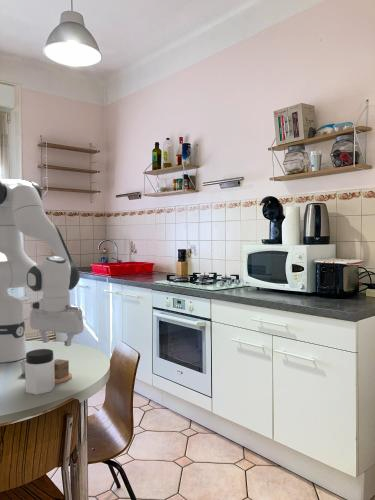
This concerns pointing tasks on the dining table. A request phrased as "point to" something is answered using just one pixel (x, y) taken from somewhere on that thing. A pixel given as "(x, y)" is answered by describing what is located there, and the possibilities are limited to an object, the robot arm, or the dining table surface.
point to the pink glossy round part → (64, 379)
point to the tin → (23, 367)
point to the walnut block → (61, 368)
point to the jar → (39, 371)
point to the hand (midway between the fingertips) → (56, 344)
